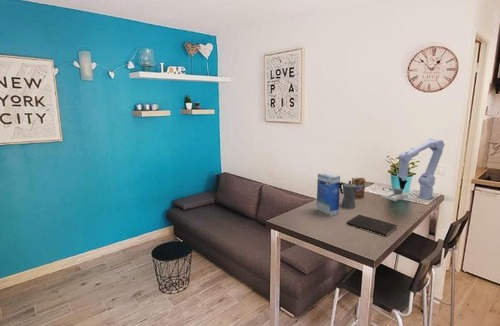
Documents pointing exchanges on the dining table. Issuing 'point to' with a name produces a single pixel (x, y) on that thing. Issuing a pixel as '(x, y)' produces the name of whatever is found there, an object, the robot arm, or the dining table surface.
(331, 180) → the string lights box
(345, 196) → the coffeepot
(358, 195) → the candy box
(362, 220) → the black spiral notebook
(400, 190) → the fader cap
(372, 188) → the dining table surface
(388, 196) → the console
